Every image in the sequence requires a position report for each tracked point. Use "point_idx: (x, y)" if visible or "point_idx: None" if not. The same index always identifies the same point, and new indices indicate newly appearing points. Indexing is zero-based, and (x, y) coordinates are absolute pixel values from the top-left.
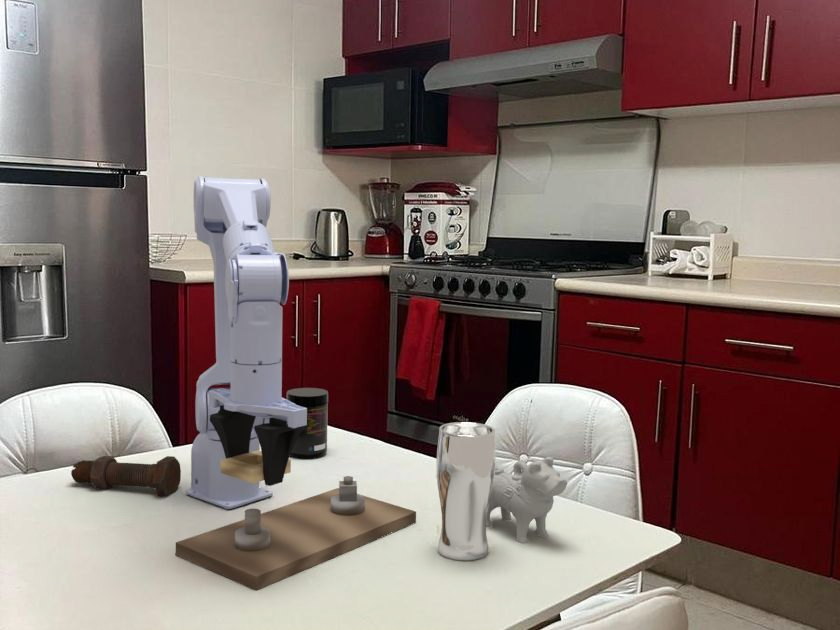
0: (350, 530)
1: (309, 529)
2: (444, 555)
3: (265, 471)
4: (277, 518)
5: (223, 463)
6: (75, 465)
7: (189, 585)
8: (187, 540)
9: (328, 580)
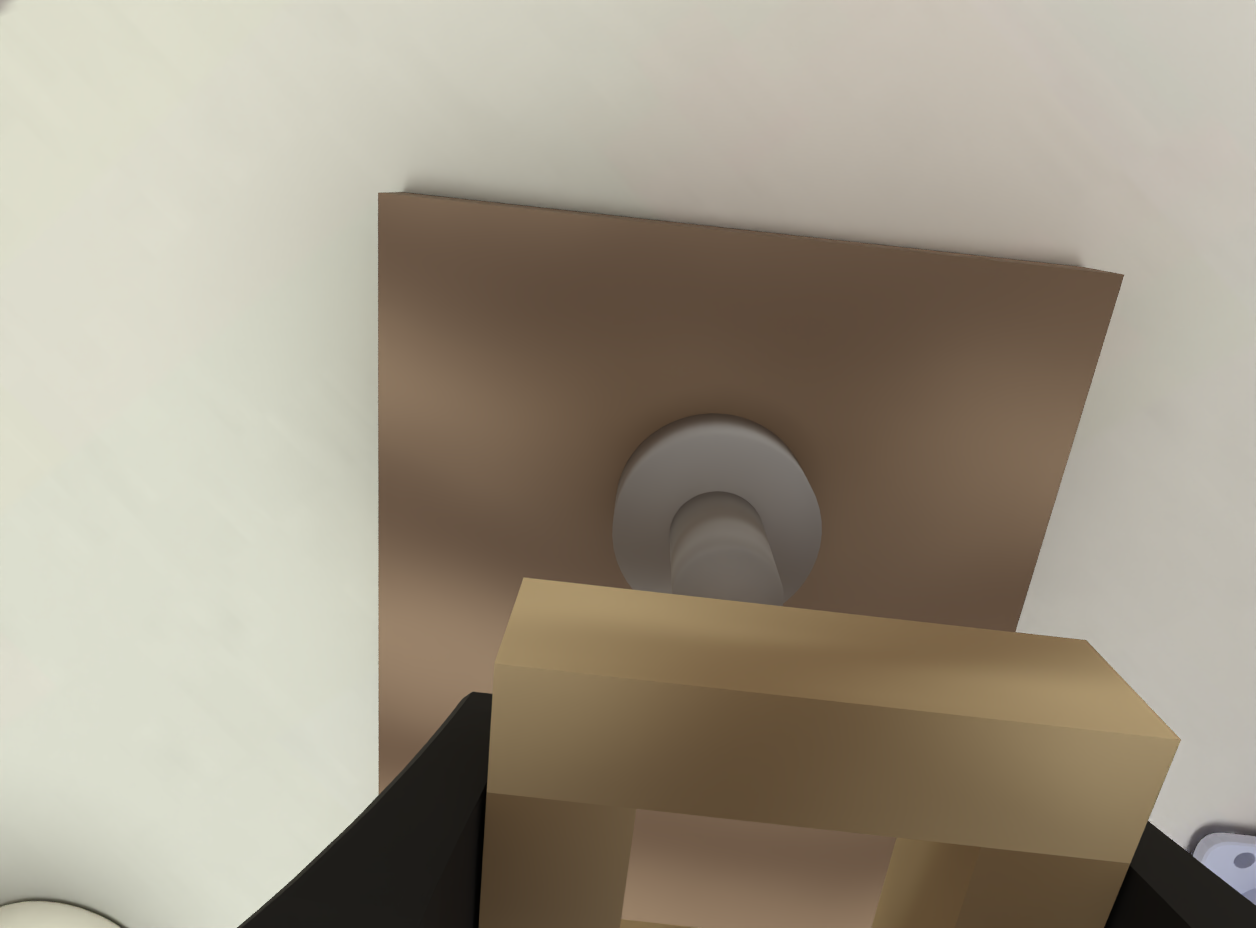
0: None
1: None
2: (64, 907)
3: (450, 770)
4: None
5: (1095, 708)
6: None
7: (733, 12)
8: (1076, 338)
9: (235, 484)
